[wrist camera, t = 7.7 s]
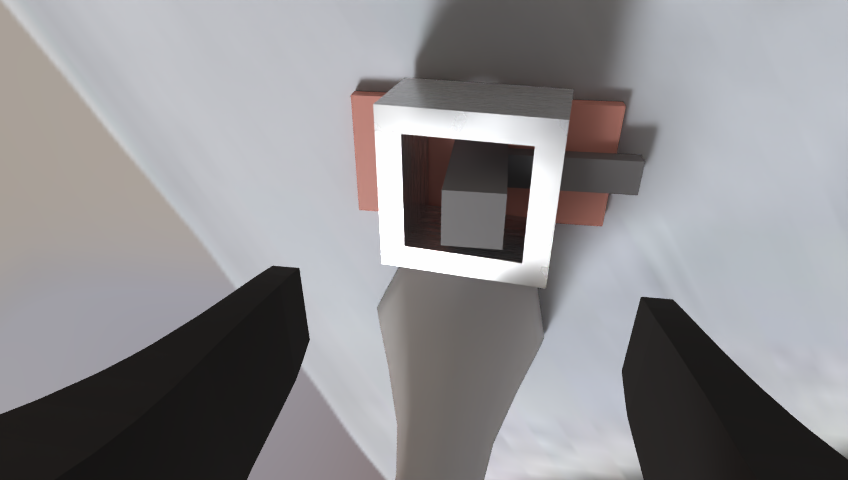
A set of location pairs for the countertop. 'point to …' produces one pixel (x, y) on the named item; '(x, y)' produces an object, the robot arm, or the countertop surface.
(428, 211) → the link
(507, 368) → the flask
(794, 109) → the countertop surface
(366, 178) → the keeper hook
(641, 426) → the robot arm
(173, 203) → the countertop surface
